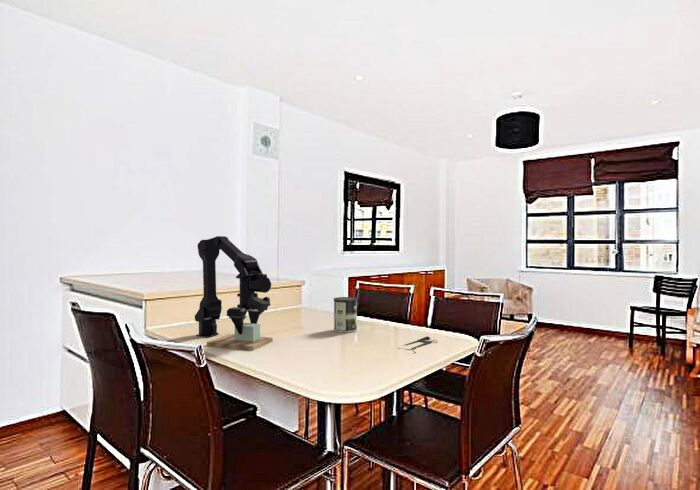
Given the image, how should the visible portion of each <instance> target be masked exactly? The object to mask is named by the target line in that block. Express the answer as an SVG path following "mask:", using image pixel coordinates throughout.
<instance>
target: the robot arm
mask: <svg viewBox="0 0 700 490" xmlns="http://www.w3.org/2000/svg"><path fill="white" fill-rule="evenodd" d="M197 250H198V256H199V258H200V260H202V274H203V275H202V277H203V279H202V282H203V283H202V284H203V286H202V287H203V297H202V298H201V300H200V302H199V308H198V310H197V311H196V313H195V315H194V321H195V322H197V323H198V333H197V334H196V337H204V338H205V337H206V338H210V337H214V336H216V335H219V332H217V331H218V324H217V320H220V319H221V313H222V310H223V307H222V300H221V299H219V298H218V296H217V275H216V274H217V273H216V272H217V271H216V270H217V269H216V265H217V263H216V261H217V259H218V257H219V255H220V251H222V252H223V254H225V255H226V256H227V257H228V258H229V259H230V260H231V261H232V262H233V266H234V268H235V269H236V270H237V272H238V274H237V275H236V276H235V279H237V280H239V293H237V294H236V297H239V304H237V305H236V306H234V307H230V308H228V309H227V310H226V317H228V318H229V319H230V320H231V322H232V323H233V325H234V328H235V327H236V329H237V331H238V333H239V334H242V331H243V323H244V320H246V318H247V317H249V322H250V323H252V324H258V322H259V318H260V316H261V314H263V313H264V312H265V311H267V310H268V308H269V307H270V306H271V298H270V297H268V296H264V297H259V294H258V293H264V294H266V293H268V292H269V291H270V290H271V288H272V282H271V279H270V278H269V277H268V275H267V273H264V272H263V270H262V269H261V267H260V264H259V263H258V260H257V258H255V257H254V256H252V255H250V254H246V253H244V252H242V250H240V248H238V247H237V246H236V245H235V244H234V243H233V242H231V240H229V237H227V236H223V235H221V236H218V235H217V236H214V237H212V238H207V239H201V240H199V242H198V243H197ZM247 314H248V316H246V315H247Z"/></svg>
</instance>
